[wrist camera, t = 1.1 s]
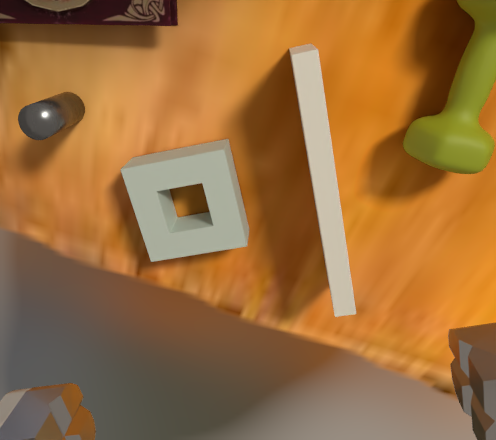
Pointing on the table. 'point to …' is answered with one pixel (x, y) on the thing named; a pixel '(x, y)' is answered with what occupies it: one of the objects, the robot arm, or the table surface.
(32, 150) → the table surface
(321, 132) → the wall
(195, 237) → the sliding block
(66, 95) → the dowel
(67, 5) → the book
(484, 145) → the dumbbell
